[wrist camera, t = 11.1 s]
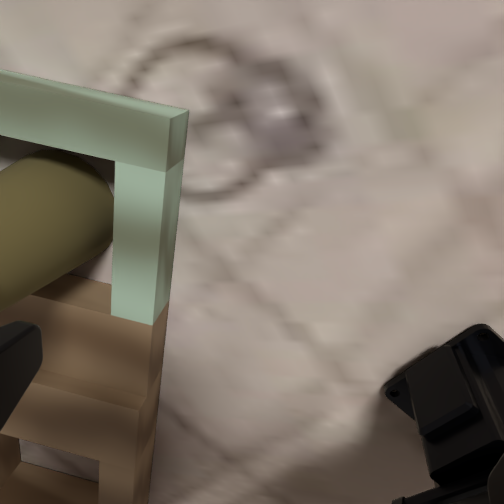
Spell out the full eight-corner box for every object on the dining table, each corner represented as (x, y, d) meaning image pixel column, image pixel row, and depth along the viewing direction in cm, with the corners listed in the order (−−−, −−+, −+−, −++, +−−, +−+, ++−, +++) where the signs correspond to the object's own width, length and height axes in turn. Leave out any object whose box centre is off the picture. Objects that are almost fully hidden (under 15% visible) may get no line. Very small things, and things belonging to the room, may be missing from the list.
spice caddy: (146, 514, 33) (127, 564, 30) (-4, 472, 34) (-38, 515, 30) (189, 110, 19) (160, 122, 16) (-68, 54, 20) (-143, 56, 17)
